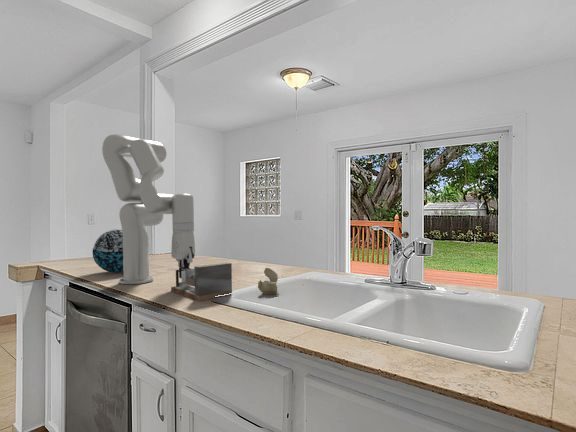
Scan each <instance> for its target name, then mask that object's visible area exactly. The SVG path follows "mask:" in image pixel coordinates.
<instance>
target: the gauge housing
mask: <svg viewBox="0 0 576 432" xmlns="http://www.w3.org/2000/svg"><path fill="white" fill-rule="evenodd" d="M193 267H194V273H195V285H194V286H191V285H188V284H185V283H182V281H181V282H180V281H179V286H178V287H176V285H175V286H170V292H173V293H174V294H175V293H176V294H178V295H180V296H184V297H187V298H189V299H192V300H196V301H198V302H202V301H206V300H208V301H209V300H212V298H213V297H215V296H218V295H224V294H229V293H232V294H233V283H232V282H233V278H232V277H233V276H232V275H233V273H232V272H233V271H232V267H233V266H232V263H231V262H219V263H218V262H217V263H211V264H203V265H195V266H193ZM213 299H214V298H213Z"/></svg>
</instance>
